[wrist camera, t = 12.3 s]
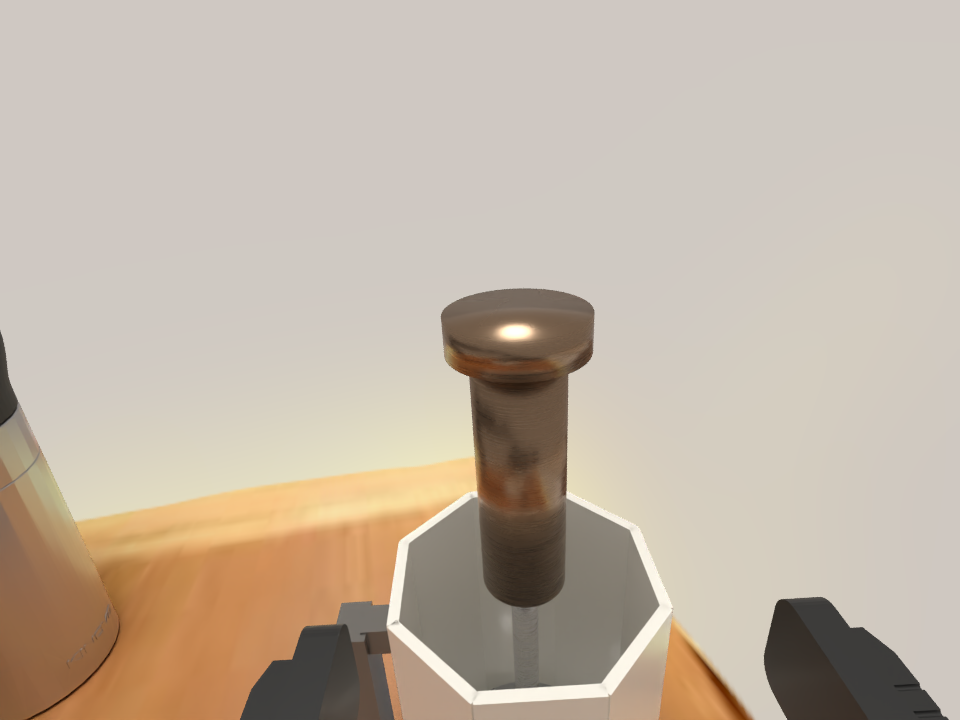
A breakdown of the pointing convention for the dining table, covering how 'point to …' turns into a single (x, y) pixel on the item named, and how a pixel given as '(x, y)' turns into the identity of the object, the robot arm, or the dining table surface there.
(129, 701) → the dining table surface
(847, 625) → the robot arm
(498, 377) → the plunger
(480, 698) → the coffee press
